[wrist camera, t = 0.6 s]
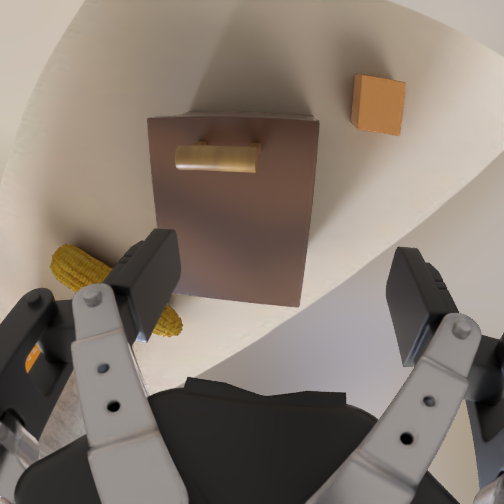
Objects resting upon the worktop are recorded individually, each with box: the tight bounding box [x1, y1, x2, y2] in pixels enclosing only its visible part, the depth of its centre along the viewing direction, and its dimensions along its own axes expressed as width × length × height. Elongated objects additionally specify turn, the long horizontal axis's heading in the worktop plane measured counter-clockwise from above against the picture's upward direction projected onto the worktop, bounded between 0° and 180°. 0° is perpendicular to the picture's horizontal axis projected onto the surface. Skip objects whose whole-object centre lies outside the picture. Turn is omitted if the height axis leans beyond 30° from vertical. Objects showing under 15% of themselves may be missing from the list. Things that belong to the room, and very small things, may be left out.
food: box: [50, 244, 183, 337], centre depth 41 cm, size 21×6×6 cm, turn 60°
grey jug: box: [0, 370, 86, 504], centre depth 47 cm, size 13×17×40 cm
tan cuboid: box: [351, 74, 406, 136], centre depth 25 cm, size 5×4×4 cm
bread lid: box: [147, 115, 319, 307], centre depth 24 cm, size 16×13×5 cm
